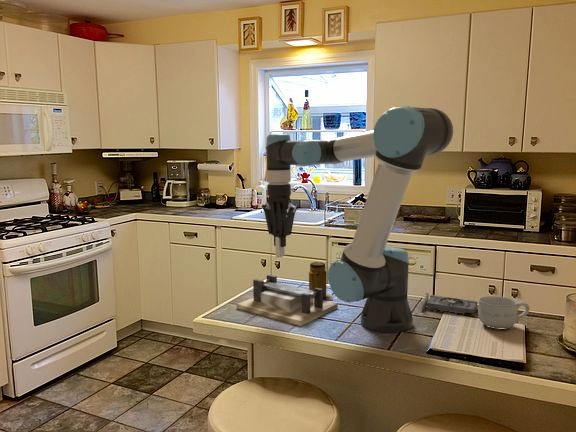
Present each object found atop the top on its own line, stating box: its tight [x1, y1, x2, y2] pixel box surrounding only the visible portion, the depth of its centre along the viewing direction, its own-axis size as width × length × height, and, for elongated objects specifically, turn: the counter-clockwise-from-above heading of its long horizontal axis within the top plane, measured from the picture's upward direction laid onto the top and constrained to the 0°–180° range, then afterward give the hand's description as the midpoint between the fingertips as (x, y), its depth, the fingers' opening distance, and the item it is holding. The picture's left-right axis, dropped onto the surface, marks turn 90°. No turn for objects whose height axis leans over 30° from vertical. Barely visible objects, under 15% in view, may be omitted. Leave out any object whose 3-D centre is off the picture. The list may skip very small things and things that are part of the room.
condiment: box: [308, 261, 333, 301], centre depth 176 cm, size 7×8×12 cm
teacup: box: [477, 295, 530, 329], centre depth 148 cm, size 14×11×8 cm
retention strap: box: [263, 279, 319, 299], centre depth 164 cm, size 21×5×2 cm, turn 52°
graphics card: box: [420, 292, 478, 315], centre depth 163 cm, size 17×4×12 cm
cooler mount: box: [236, 274, 339, 327], centre depth 165 cm, size 26×20×8 cm
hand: (280, 256), depth 164 cm, fingers closed
